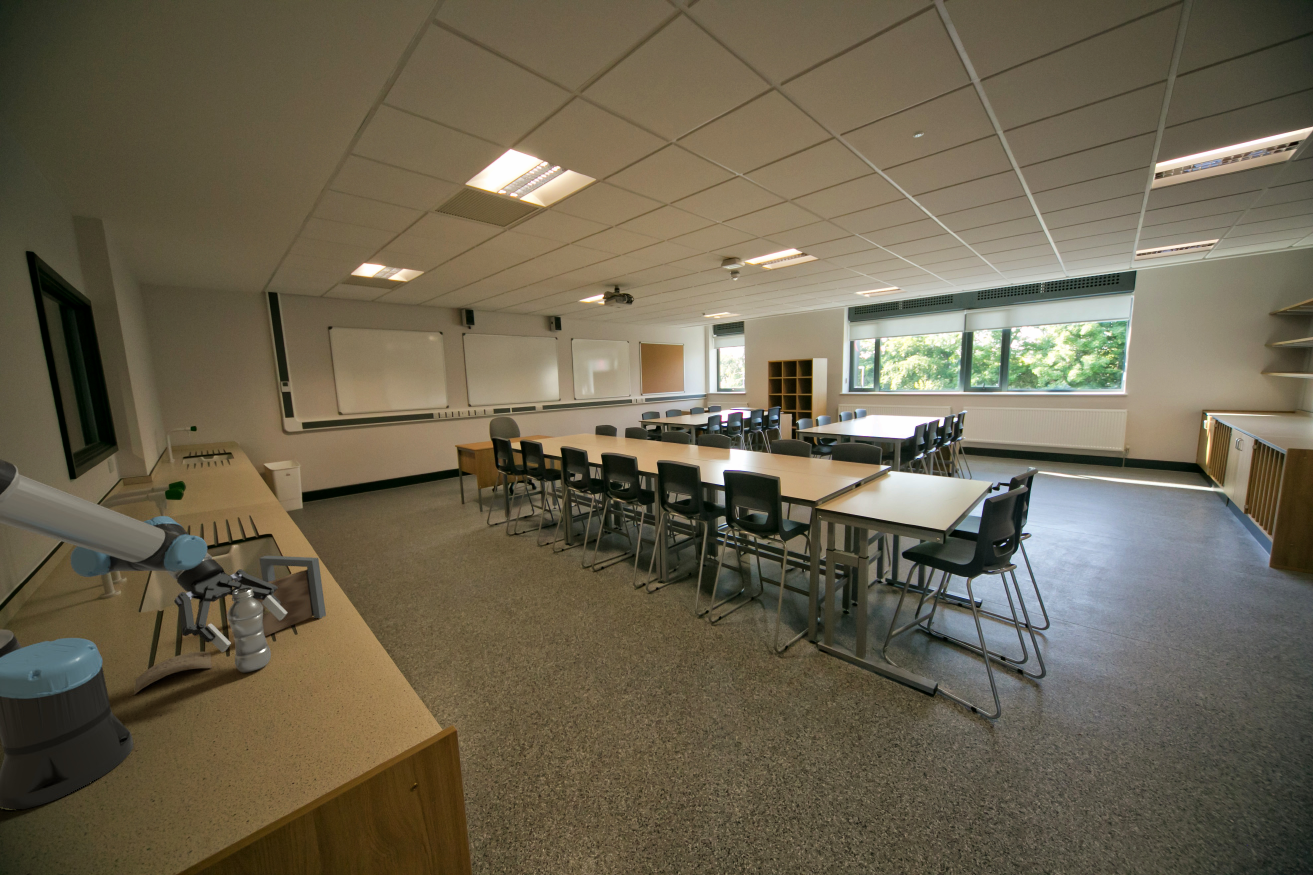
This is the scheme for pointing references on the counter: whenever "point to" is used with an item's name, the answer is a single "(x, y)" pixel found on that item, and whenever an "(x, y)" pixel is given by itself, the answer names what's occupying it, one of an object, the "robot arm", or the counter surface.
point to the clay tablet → (173, 667)
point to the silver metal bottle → (248, 631)
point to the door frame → (313, 576)
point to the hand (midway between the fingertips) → (257, 631)
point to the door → (289, 602)
